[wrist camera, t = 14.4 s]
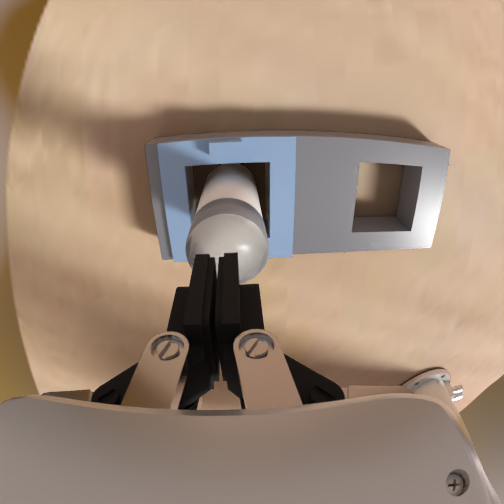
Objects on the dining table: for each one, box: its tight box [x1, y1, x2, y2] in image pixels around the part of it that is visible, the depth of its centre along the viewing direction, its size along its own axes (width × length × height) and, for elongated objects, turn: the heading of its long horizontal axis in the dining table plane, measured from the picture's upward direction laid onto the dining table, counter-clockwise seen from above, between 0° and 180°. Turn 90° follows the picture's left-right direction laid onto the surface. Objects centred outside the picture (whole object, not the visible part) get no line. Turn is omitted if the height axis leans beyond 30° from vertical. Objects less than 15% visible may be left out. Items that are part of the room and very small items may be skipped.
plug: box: [185, 163, 269, 284], centre depth 19 cm, size 4×4×10 cm
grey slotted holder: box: [145, 130, 450, 262], centre depth 22 cm, size 23×9×4 cm, turn 91°
